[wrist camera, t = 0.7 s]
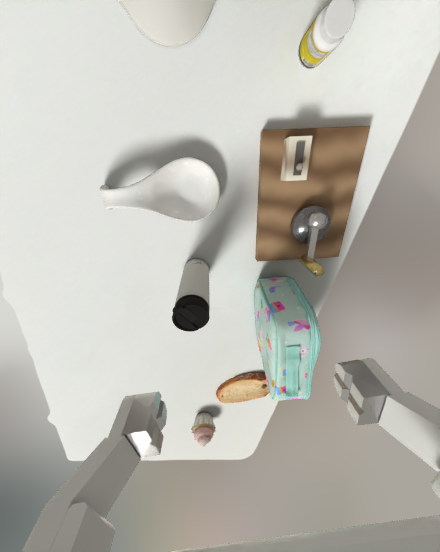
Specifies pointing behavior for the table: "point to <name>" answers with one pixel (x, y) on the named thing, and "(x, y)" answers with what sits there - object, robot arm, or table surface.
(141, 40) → the table surface
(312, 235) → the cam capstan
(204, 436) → the cupcake
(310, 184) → the stand
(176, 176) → the spoon rest
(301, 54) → the supplement bottle
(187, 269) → the travel mug
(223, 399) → the slice of bread
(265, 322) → the lunch box
